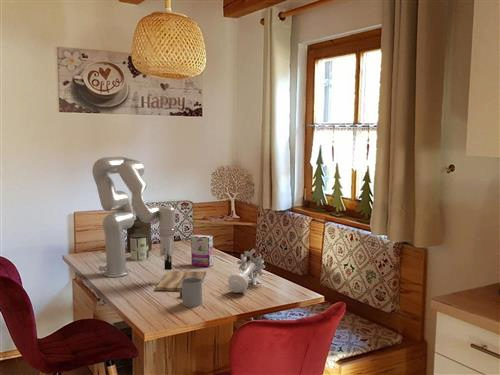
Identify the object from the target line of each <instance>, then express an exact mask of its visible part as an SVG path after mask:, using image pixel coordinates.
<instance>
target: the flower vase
mask: <svg viewBox="0 0 500 375" xmlns="http://www.w3.org/2000/svg"><path fill="white" fill-rule="evenodd" d="M256 251H257V249H255V248H252V249H251V250H249V251H248V250H245V251H243V254H240V259H239V260H237V262H236V264H237V265H239V267H238V270H242V272H241V273H237V272H235V273H232V274H231V275H230V276H229V277H228V281H227V282H228V284H227V285H228V287H229V288H228V289H229V290H230V291H231V292H233V293H238V294H239V293H241V294H242V293H245V291H246V290H247V289H248V287H249V284H251V283H252V285H253V286H256V285H257V283H259V284H263V283H262V281H259V279H257V277H258V275H260V276H262V275H263V271H262V270H264V269H265V268H266V265H264V263H265V261H264V259H263V258H262V254H261V253H259V256H256V257H255V258H254V256H253V254H254V253H255V252H256ZM247 257H249V260H247Z"/></svg>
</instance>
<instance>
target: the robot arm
mask: <svg viewBox="0 0 500 375" xmlns="http://www.w3.org/2000/svg"><path fill="white" fill-rule="evenodd" d="M91 173H92V176H93V180H94V182H95V185H96V189H97V192H98V197H99V201H100V205H101V207H102V209H103V210H104V211H105V212H111V211H115V212H112V213H109V214H107V215H106V216H105V217H104V218H103V220H102V227H103V232H104V238H105V240H104V241H105V256H106V258H105V259H106V263H105V264H106V265H104V266H103V265H99V266H98V270H99V271H100V272H101V271H104V272H103V276H104V277H106V276H107V277H106V278H120V277H124V276H127V275H129V274H130V271H129V269H127V268H126V267H127V265H126V264H127V263H126V262H127V261H126V240H125V236H124V234H123V232H122V231H123V230H124V231H125V230H127V229H128V228H130V227H132V226H133V224H134V220H135V216H134V213H135V215H136V216H138V218H139V219H140V220H141V221H142V222H145V223H149V222H151V223H152V222H156V221H158V225H159V226H158V227H159V229H158V230H159V231H158V232H159V237H160V244H159V245H160V246H159V248H160V249H159V250H160V251H159V253H160V254H159V257H163V258H164V260H163V262H164V263H163V265H164V270H165V271H172V268H173V264H172V261H173V260H172V255H173V254H174V252H175V241H174V240H175V239H174V237H175V236H176V213H175V212H176V211H175V210H176V209H175V208H174V206H166V205H165V206H164V205H161V204H160V205H159V204H154V205H149V206H147V204H146V203H145V201H144V198H143V192H144V191H145V190H146V189H147V184H146V181H145V180H144V179H143V177H142V176H143V175H144V174H145V167H144V165H143V163H142V162H140V161H139V160H136V159H133V158H128V157H124V156H107V157H106V156H104V157H101V158H99V159H96V161H95V162H94V163H93V165H92V172H91ZM112 174H113V175H114V174H118V175H119V176H120V178H121V179H122V181H123V182H124V184H125V186H126V188H127V189H128V191H129V192H130V193H131V196H130V197H129V195H128V193H127V192H125V191H123V190H116V188H115V187H116V186H115V183H114V181H113V179H112V178H111V177H110V175H112ZM130 198H131V199H130ZM133 211H134V212H133Z"/></svg>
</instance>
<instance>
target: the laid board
mask: <svg viewBox="0 0 500 375" xmlns="http://www.w3.org/2000/svg"><path fill="white" fill-rule="evenodd" d="M206 275H207V271H204V270H203V271H199V270H198V271H197V270H196V271H192V270H191V271H190V270H189V271H188V270H187V271H186V273H185V275H184V276H183V278H182V280H183V279H186V278H200V279H202V283H203V282H204V281H205V280H204V279H205V277H206ZM182 280H181V281H180V283H179V285H178V286H177V290H176V292H180V291H181V290H182Z"/></svg>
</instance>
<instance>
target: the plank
mask: <svg viewBox="0 0 500 375" xmlns="http://www.w3.org/2000/svg"><path fill="white" fill-rule="evenodd" d="M185 273H186V271H182V270H181V271H180V270H167V272H166V273H165V275H164V276H163V277H162V278H161V281H160V282H159V283H157V286H156V291H166V292H167V291H168V292H169V291H171V292H177V286H178V285H179V283H180V281H181V280H182V278H183V276H184V275H185Z"/></svg>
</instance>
